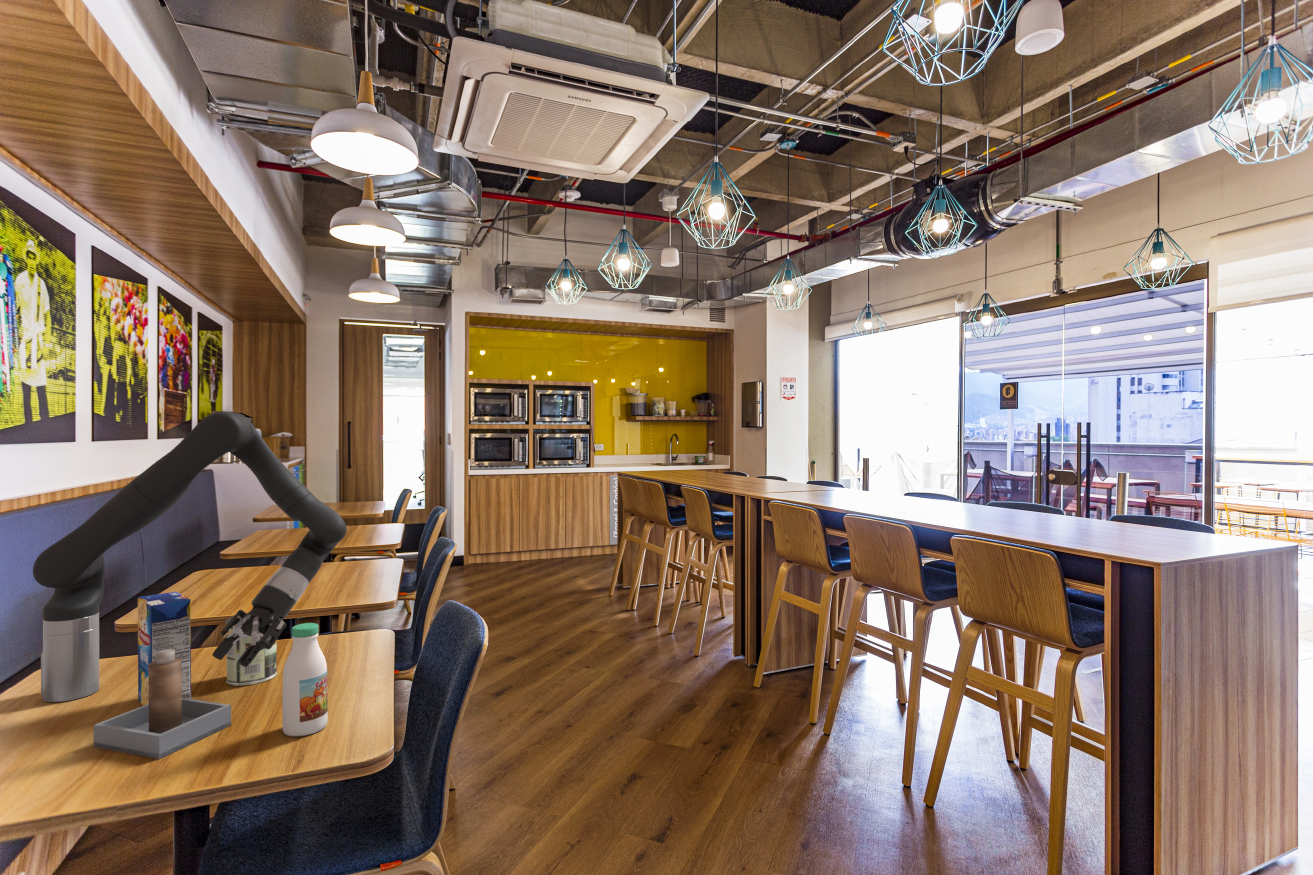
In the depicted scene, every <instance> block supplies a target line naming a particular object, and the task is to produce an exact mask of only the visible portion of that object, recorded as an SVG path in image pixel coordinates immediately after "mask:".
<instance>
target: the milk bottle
mask: <svg viewBox="0 0 1313 875" xmlns="http://www.w3.org/2000/svg"><path fill="white" fill-rule="evenodd" d="M319 627H320V626H319V624H318V623H314V622H305V623H299V624H296V625H294V626H292V628H291V640H292V646H291V649H290V652H289V654H288V656H287V658H286V660H285V662H284V667H283V671H282V696H281V697H282V700H281V701H282V705H281V706H282V709H281V710H282V717H281V718H282V719H281V720H282V732H283V734H284V735H286V736H288V737H305V736H309V735H312V734H316V733H318V732H320V731H322V730H324V728H326V726H327V724H328V720H329V718H328V716H329V713H328V708H329V707H328V704H329V703H328V701H329V700H328V694H329V692H328V691H329V690H328V689H329V688H328V686H329V685H328V665H327V661H326V657H325V655H324V653H323V651H322V649H321V648H320V645H319V642H318V637H319Z"/></svg>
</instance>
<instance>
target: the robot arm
mask: <svg viewBox="0 0 1313 875" xmlns="http://www.w3.org/2000/svg"><path fill="white" fill-rule="evenodd" d="M227 453H230V454H232V456H234V457H236V458H237V459H238V460H239V461H241V462H242V463H243V464H244V465H245V466H246V467H247V468H248V469H249V470H250V471H251V472H252V473H253V474H254V476H255V477H256V479H257V480H258V482H259V484H260V485H261V487H262V488H263V490H264V491H265V493H266V495H267V496H268V497H269V499H271V500H272V501H273V503H275V505H277V507H278V508H279V509H280V510H281V511H282V512H283V513H284V514H285V515H287V517H289V518H290V519H291V520H292V521H295V522H297V521H298V522H300V523H302V524H303V525H304V526H305V527H306V528H307V529H309V530H308V531H307V533H306V534H305V535H304V537H303V538H302V539H301V541H300V543H299V544H298V546H297V547H296V548H295V549H294V550H293V551H292V552H291V553H290V554H289V555H288V556H287V558H286V559H285V561H284V562H282V565H281V566H280V567H279V568H278V569H277V570H276V571H275V572H274V573H273V574H272V575H271V576H270V578H269V579H268V580H267V581H266V583H265V584H264V585H263V587H262V588H261V589H260V591H258V593H257V594H256V596H254V598H253V599H252V600H251V605H252V609H251V610H250V611H248V612H246V611H244V610H243V609H239V610H238V611H237V612H236V613H235V614H234V615H233V616H232V617H233V618H232V617H231V618H232V619H231V620H230V621H229V623H228V624H227V625H226V624H225V626H224V627H223V628H222V630H221V631H220V634H221V635H222V638H223V639H222V640H221V641H220V643H219V645H218V646H217V647H216V648H215V649H214V651H213V653H212V657H214V658H215V659H217V660H219V661H221V660H223V659H224V658H225V657H226V654H227V653H228V651H229V650H230V649H231V647H232V646H233V645H234V644H233V643H235V642H237V641H238V640H240V639H241V638H246V637H247V636H252V637H253V638H252V643H251V645H252V646H248V648H247V649H246V650H245V652H244V653H243V654H242V656H241V657H240V658H239V660H238V664H240V665H242V666H244V667H247V666H248V665H249V664H250V663H251V662H252V660H253V659H254V658H255V656H256V655H257V654H258V652H259V651H262V650H263V649H270V648H271V647H272V646H273V644H274V643H275V641H276V642H277V640H278V639H279V637H280V636H281V634H282V633H283V631H284V630H285V628H287V627H286V626H287V625H288V624H287V623H286V622H284V619H285V618H287V616H288V615H289V613H290V612H291V610H292V609H293V607H294V606H295V605H296V604H297V602H298V601H299V599H300V598H301V597H302V596H303V594H304V593H305V590H306V589H307V587H308V585H309V584H310V583H311V582H312V580H313V578H315V575H316V574H317V573H318V572H319V570H320V569H321V567H322V565H323V562H324V561H325V560H326V559H327V558H328V556H329V555H330V553H332V551H333V550H334V549H335V548H336V546H337V545H338V544H339V543H340V542H342V540H343V539H344V538H345V536H346V535H347V531H348V529H347V524H346V522H345V520H344V519H343V517H342V516H340V514H339V513H338V512H337V511H335V510H334V509H333V508H331V507H330V506H328V504H326V503H325V502H323V501H321V500H319V499H318V498H317V497H316V496H315V495H314V494H313V493H312V492H311V491H310V490H309V489H308V488H307V487H306V486H305V484H303V483H302V482H301V480H299V479H298V478H297V477H296V476H295V475H294V474H293V473H292V472H291V471H290V470H289V469H288V467H286V466H285V465H284V463H283V462H282V461H281V460H280V458H278V457H277V456H276V454H275V453H274V452H273V451H272V449H271V448H270V447H269V445H268V443H266V441H265V440H264V438H263V437H262V436H261V434H260V432H259V431H258V430H257V428H256V427H255V425H254V424H253V423H252V422H251V420H250V419H249V418H248V417H246V415H243V414H241V413H238V412H233V411H217V412H213V413H210V414H208V415H207V416H205V417H204V418H202V419H201V420H200V421H199V422H198V423H197V424H196V425H195V426H194V427H193V429H191V431H190V432H189V433H188V434H186V436H185V437H184V438H183V439H182V440H181V441H180V442H179V443H178V444H177V445H176V446H175V447H174V448H172V449H171V450H170V451H169V452H167V453H166V454H164V455H163V456H162V457H161V458H159V459H158V460H157V461H155V462H154V463H153V464H151V465H150V466H149V467H148V468H146V469H145V470H144V471H142V472H141V473H139V475H137V476H136V477H135V478H133V479H132V480H130V482H129V483H127V484H126V485H125V486H124V487H123V488H122V489H120V491H119V492H117V493H116V494H115V495H113V497H111V499H109V500H107V501H106V503H104V504H103V505H102V506H101V507H99V509H98V510H96V511H95V512H94V513H93V514H92V515H91V516H89V518H88V519H87V520H85V522H83V523H82V524H80V526H78V527H77V528H76V529H73V531H71V532H70V533H68V534H66V535H65V536H64V537H62V538H61V539H59V540H57V541H56V542H55V543H53V544H51V545H50V546H48V547H47V548H45V549H44V550H43V551H42V552H41V553H40V554H39V555H37V558H36V559H35V561H34V562H33V567H32V575H33V578H34V580H35V581H36V583H38V584H39V585H41V586H42V587H45V588H49V589H54V591H53V594H52V596H51V597H50V599H49V600H48V601H47V603H46V604H45V605H44V606H43V607H42V608H43V609H42V652H41V654H40V697H41V698H42V700H43V701H44V702H47V703H60V702H68V701H73V700H77V699H82V698H84V697H88V696H91V695H93V694H95V693H96V692H98V691H99V690H100V604H101V602H102V599H103V596H104V591H105V590H104V589H105V572H106V571H105V570H106V568H105V567H106V565H105V563H106V562H105V556H104V553H106V552H107V551H109V549H111V548H112V547H113V546H115V545H116V544H118V543H120V542H122V541H124V540H125V539H126V538H128V537H130V536H132V535H134V534H135V533H137V532H138V531H140V530H142V529H144V528H145V527H147V526H148V525H150V524H151V523H153V522H155V521H156V520H157V519H159V518H160V517H161V516H162V515H163V514H164V513H166V512H167V511H169V509H170V508H172V507H173V506H174V505H175V504H176V503H177V502H178V501H179V500H180V499H181V498H182V497H183V495H184V494H185V493H186V491H187V490H188V489H189V487H190V485H192V482H193V481H194V480H195V479H196V478H197V476H198V475H199V474H200V473H201V472H202V471H204V469H206V468H207V467H209V466H210V465H212V463H214V462H216V461H217V460H218V459H219V458H221V457H222V456H224V455H226V454H227ZM232 626H233V629H232V630H231V631H228V630H229V629H230V628H231V627H232ZM241 627H242V629H240V628H241ZM235 634H238V635H236V636H235ZM234 636H235V637H234ZM269 636H271V639H270V641H269V642H268V641H267V640H268V638H269Z"/></svg>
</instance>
